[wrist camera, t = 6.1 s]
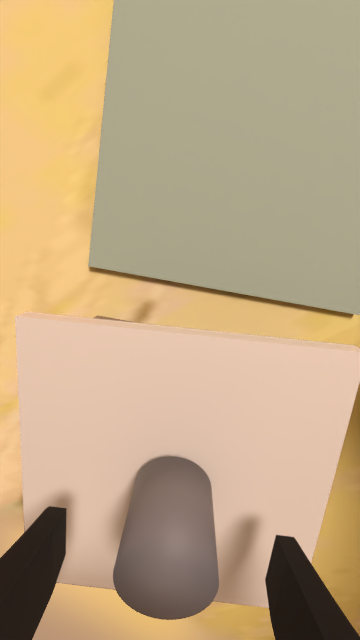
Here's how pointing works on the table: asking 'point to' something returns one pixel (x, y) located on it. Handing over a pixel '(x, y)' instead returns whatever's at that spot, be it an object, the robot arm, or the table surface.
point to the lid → (178, 452)
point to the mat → (233, 148)
